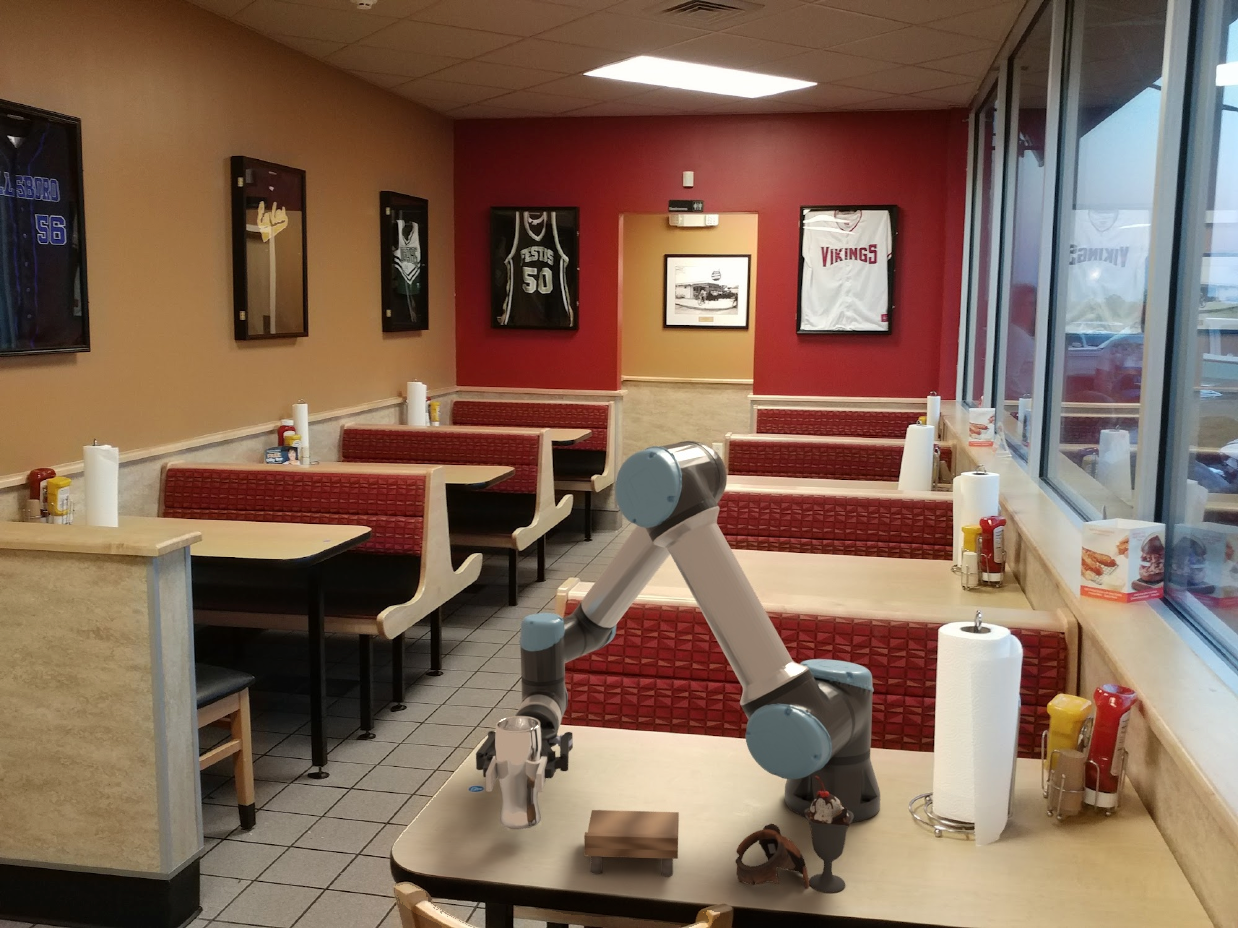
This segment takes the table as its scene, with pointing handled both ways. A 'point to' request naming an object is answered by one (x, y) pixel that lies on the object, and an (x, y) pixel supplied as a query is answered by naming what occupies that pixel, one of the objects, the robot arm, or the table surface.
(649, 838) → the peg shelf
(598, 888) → the table surface
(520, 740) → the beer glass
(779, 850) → the broken clay pot
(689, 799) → the table surface
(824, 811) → the sundae
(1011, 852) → the table surface
